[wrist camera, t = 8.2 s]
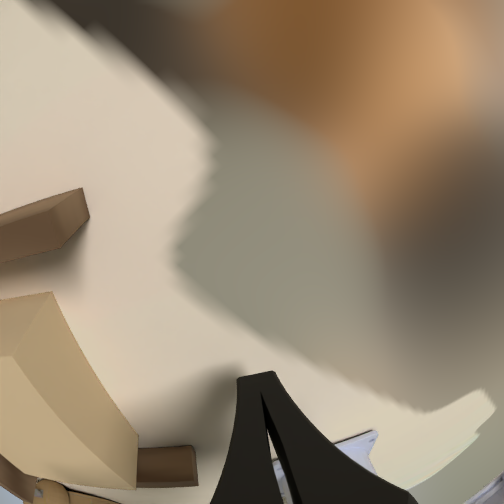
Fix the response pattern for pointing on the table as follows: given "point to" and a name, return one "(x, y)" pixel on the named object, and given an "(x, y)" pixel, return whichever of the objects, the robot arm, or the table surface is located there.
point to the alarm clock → (61, 495)
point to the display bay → (50, 238)
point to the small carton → (58, 402)
